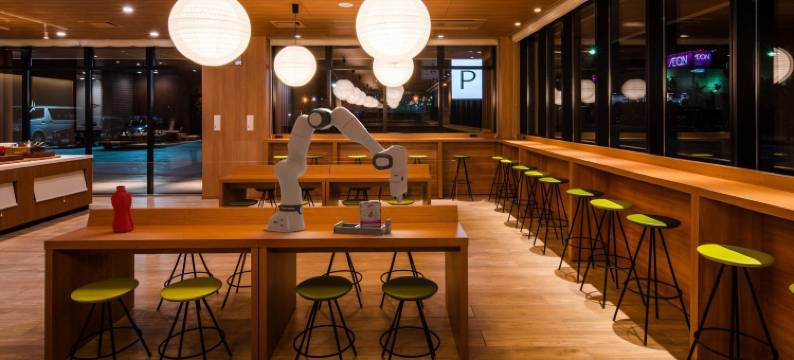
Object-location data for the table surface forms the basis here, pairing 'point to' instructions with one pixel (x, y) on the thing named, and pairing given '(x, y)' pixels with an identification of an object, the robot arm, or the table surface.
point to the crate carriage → (385, 228)
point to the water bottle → (122, 210)
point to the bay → (354, 229)
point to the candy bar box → (370, 214)
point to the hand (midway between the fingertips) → (399, 202)
